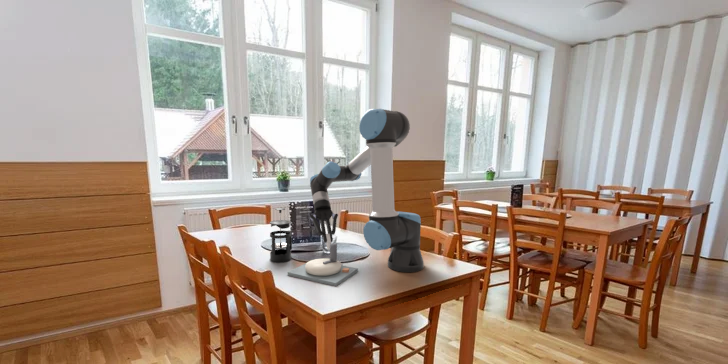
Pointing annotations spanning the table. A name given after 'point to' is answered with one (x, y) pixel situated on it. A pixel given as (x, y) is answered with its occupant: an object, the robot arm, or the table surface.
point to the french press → (282, 250)
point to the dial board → (328, 279)
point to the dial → (325, 264)
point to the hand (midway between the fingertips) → (329, 248)
